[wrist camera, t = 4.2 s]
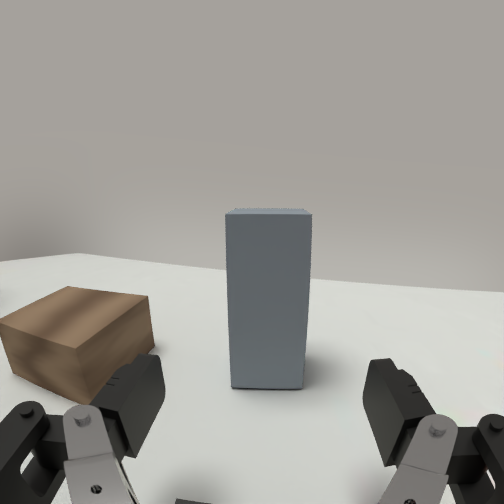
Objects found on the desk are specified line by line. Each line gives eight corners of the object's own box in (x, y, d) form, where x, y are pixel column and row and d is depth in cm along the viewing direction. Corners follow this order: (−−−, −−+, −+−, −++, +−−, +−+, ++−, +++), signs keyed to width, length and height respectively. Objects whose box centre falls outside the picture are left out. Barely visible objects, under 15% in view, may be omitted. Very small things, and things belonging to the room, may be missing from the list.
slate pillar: (231, 387, 20) (225, 214, 18) (238, 352, 25) (235, 208, 22) (302, 388, 20) (311, 214, 17) (297, 353, 25) (303, 208, 22)
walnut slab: (13, 373, 18) (-5, 321, 17) (76, 330, 28) (67, 286, 27) (95, 410, 16) (75, 348, 15) (154, 346, 26) (148, 295, 25)
